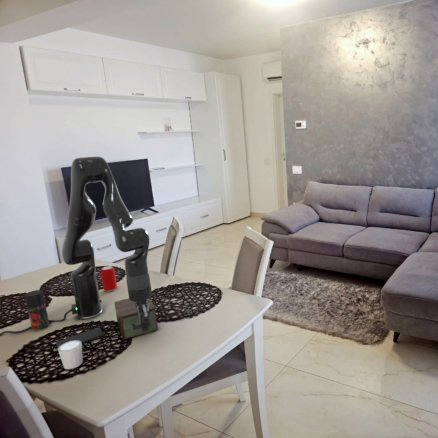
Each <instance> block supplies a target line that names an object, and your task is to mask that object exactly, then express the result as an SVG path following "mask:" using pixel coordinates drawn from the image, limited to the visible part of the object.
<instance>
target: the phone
mask: <svg viewBox="0 0 438 438" xmlns="http://www.w3.org/2000/svg"><path fill="white" fill-rule="evenodd" d="M102 337H104V331H102V329H101V328H100V327H96V328H93V329H90V330H87V331H84V332H80V333H78V334H75V335H72V336H69V337H66V338H62V339H60V340H57V341H56V342H55V345H56V348H57V349H58V348H59V346H61V345H62V344H64V343H66V342H69V341H74V340H79V341H81V343H82V344H85V343H87V342H91V341H93V340H97V339H100V338H102Z"/></svg>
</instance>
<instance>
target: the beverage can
mask: <svg viewBox="0 0 438 438" xmlns="http://www.w3.org/2000/svg"><path fill="white" fill-rule="evenodd" d="M100 277H101V282H102V288H103V289H102V290H103V291H105V292H109V293H110V292H114V291H115V290H116V289H117V288H118V285H117V284H118V283H117V278H116V271H115V268H114V267H113V266H112V265H108V266H104V267H102V268H101V270H100Z"/></svg>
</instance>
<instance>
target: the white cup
mask: <svg viewBox="0 0 438 438" xmlns="http://www.w3.org/2000/svg"><path fill="white" fill-rule="evenodd" d="M57 351H58V354H59V357H60V360H61V363H62V367H63V368H64V369H65V370H73V369H76V368H78V367H80V366H81V365H82V364H83V362H84V361H83V359H84V358H83V343H81V341H79V340H74V341H69V342H66V343H64V344H62V345H61V346H59V348H57Z"/></svg>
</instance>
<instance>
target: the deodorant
mask: <svg viewBox="0 0 438 438" xmlns="http://www.w3.org/2000/svg"><path fill="white" fill-rule="evenodd" d="M44 296H45V295H44V291H43V290H42V289H36V290H31V291H28V292H26V293H25V294H24V298H25V302H26V308H27V311H28V317H29V321H30V327H32V328H31V330H32V331H34V332H35V331H36V332H37V331H42V330H45V329H47V328H48V327H50V322H49V320H50V319H49V315H48V311H47V305H46V301H45V297H44Z"/></svg>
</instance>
